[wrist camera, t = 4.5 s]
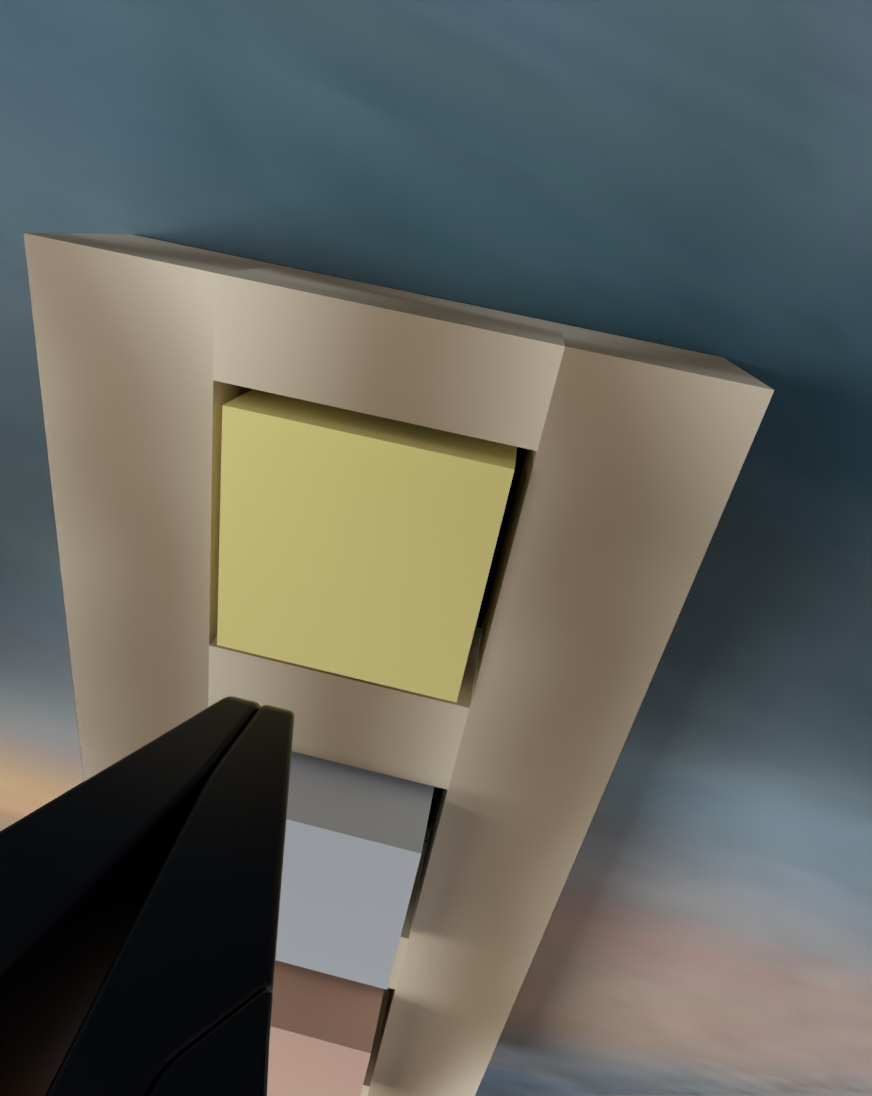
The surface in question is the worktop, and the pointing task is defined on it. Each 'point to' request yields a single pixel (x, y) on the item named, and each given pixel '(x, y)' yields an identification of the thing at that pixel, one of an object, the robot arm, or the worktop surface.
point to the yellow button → (355, 540)
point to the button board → (497, 648)
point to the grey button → (348, 867)
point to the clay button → (320, 1033)
